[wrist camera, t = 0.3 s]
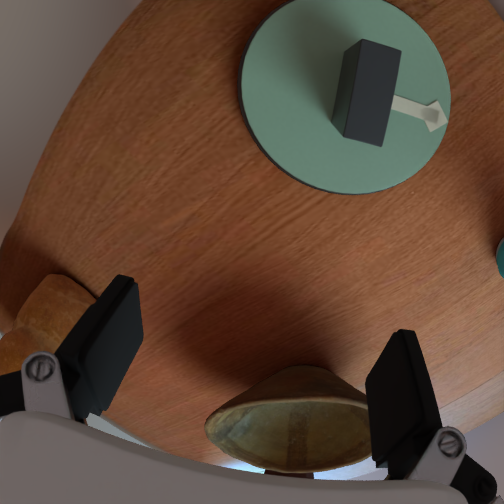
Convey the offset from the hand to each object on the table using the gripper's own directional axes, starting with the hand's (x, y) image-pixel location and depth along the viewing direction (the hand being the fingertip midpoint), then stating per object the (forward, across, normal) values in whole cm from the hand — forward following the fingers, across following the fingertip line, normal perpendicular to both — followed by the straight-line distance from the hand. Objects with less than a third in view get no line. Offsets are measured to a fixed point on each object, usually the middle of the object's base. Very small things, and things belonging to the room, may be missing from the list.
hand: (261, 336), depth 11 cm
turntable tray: (+18, -4, -9) cm, 20 cm away
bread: (+19, +29, +30) cm, 46 cm away
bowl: (+19, -8, +27) cm, 34 cm away
